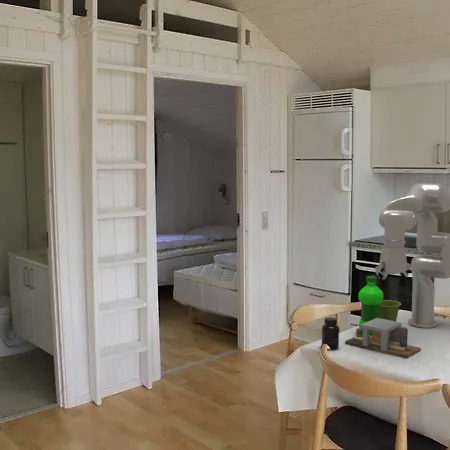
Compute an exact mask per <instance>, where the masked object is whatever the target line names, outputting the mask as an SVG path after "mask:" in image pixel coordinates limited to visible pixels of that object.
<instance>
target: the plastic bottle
mask: <svg viewBox="0 0 450 450" xmlns="http://www.w3.org/2000/svg"><path fill="white" fill-rule="evenodd" d="M365 282H366V283H367V284H366V285H365V286H364V287H362V288H361V289H360V290H359V292H358V301H359V302H360V307H361V309H360V320H359V322H358V328H361V324H364V323H366V322H368V321H371V320H373V319H375V318H380V303H381V302H382V301H383V300H384V295H385V294H384V292H383V291H382V289H380V287H378V286H377V285H376V282H377V276H374V275H367V276H366V277H365ZM362 329H363V328H362ZM370 336H372V337H373V330H370Z"/></svg>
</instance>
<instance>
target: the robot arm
mask: <svg viewBox="0 0 450 450" xmlns="http://www.w3.org/2000/svg"><path fill="white" fill-rule="evenodd" d="M449 211H450V193H449V191H448V190H447V189H446V188H445V186H443V185H442V184H441V183H440V184H439V183H424V182H423V183H415V184H414V185H412V186H411V187H410V188H409V190H408V191H407V193H406V194H405V196H402V197H400V198H397V199H395V200H393V201H390V202H388V203H387V204H386V205H385V206H384V207H383V208H382V209H381V211H380V214H379V217H378V223H379V225H380V227H381V228H383V229H384V235H383V239H384V240H383V247H382V248H381V252H380V257H379V265H377V266H375V267H374V272H375V274H376V277H377V278H378V279H379V289H380V290H384V291H386V289H387V279H386V278H387V277H388V275H396V274H399V278H398V279H399V281H398V282H399V287H402V288H407V278H408V277H409V274H410V273H411V276H412V294H411V295H412V296H411V297H412V298H411V303H412V304H411V318H409V319H408V320H407V323H408V325H410V326H412V327H415V328H422V329H423V328H424V329H429V328H430V329H431V328H432V329H433V328H435V327H437V326H438V322H437V321H436V320H434V319H435V317H436V315H437V314H436V312H435V293H436V292H435V291H436V288H435V283H434V284H433V282H432V280H431V279H430V278H434V279H442V280H447V279H449V278H450V233H448V232H441V231H438V222H439V221H438V218H437V216H436V215H435V213H447V212H449ZM416 225H417V227H416ZM415 227H416V229H417V230H416V240H415V241H416V242H415V243H416V249H417V251H419V252H422V253H428V254H439V255H441V256H433V255H424V254H423V255H422V254H419V255H416V256H414V257H413V258H412V259H411V263H409V262H407V260H408V259H407V252H406V247H405V244H406V243H407V242H406V240H405V234H406V231H410V230H413V229H414V228H415Z"/></svg>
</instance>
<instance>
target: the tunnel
mask: <svg viewBox="0 0 450 450" xmlns="http://www.w3.org/2000/svg"><path fill="white" fill-rule="evenodd" d="M402 327H403V325H402V322H401V321H397V320H396V321H391V320H386V319H380V318H375V319H373V320H371V321H368V322H366V323H364V324H361V328H363V343H362V345H364V346H369V341H370V330H375V331H379V332H381V350H385V351H386V350H388V332H389V331H390V341H395V342H399V339H400V328H402Z"/></svg>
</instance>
